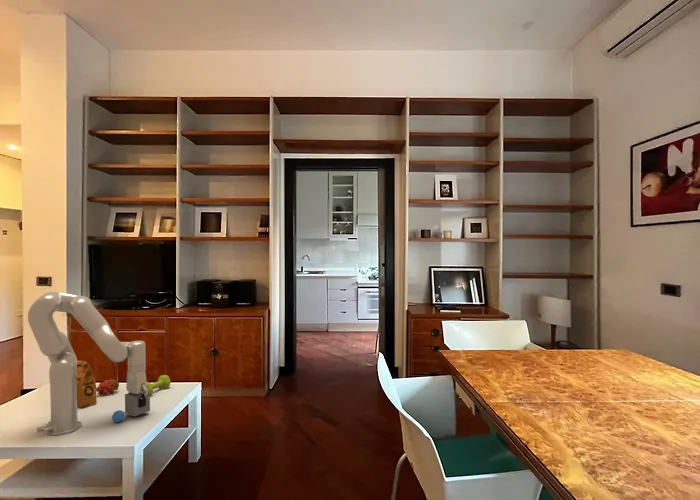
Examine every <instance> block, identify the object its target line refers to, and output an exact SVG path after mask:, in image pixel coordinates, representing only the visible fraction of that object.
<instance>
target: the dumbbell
mask: <svg viewBox="0 0 700 500" xmlns="http://www.w3.org/2000/svg"><path fill="white" fill-rule="evenodd" d="M171 381H172V380H171V379H170V377H169V375H166V374H163V375H160V376H159V377H158V378H157V381H155V382H153V383H151V382H149V381H146V382H147V390H148V392H150V396H152V393H153V392H154V390H155V389H158V388H160V389H162V388H163V390H166V389H168V388H169V387H170V385H171V383H172V382H171Z"/></svg>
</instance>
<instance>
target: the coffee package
mask: <svg viewBox="0 0 700 500" xmlns="http://www.w3.org/2000/svg"><path fill="white" fill-rule="evenodd" d="M76 380H77V408H81V409H85V408H87V407H91V406H93V405H96V404H97V383H96V382H97V381H96V378H95V374H94V371H93V369H92V367H91V366H90V363H89V362H87V361H84V360H78V359H77V368H76Z"/></svg>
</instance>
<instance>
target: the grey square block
mask: <svg viewBox="0 0 700 500" xmlns="http://www.w3.org/2000/svg"><path fill="white" fill-rule="evenodd" d="M140 392H142V391H140ZM142 394H143V393H141V395H142ZM148 412H151V395H150V392H148V393H147V396H146V406H144V407H141V408H139V395H138V394H134V393H129V392H128V393H125V394H124V414H127V415H129V416H132V417H136V416H139V415H143V414H145V413H148Z"/></svg>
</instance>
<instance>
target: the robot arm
mask: <svg viewBox="0 0 700 500" xmlns="http://www.w3.org/2000/svg"><path fill="white" fill-rule="evenodd" d="M55 312H60V313H66V314H70V315H72V317H74V319H75V320H76V321H77V322H78V323H79V324H80V326H82V328H83V329H84V330H85V331H86V333H87V335H89V336H90V338H91V339H92V340H93V341H94V342H95V344H96V345H97V346H98V347H99V348H100V350H101V351H102V352H103V354H104V355H105V356H106V357H107V358H108V359H109V360H110V361H112V362H113V363H122V362H124V361H125V360H126V359H127V373H126V391H127V392H128V393H134V394H138V395H139V408H141V407H144V406H146V396H147V393H148V390H147V382H148V381H147V374H146V370H147V369H146V367H147V364H146V363H147V362H146V359H147V358H146V354H147V353H146V342H145V341H143V340H133V341H120V340H119V339H118V337H117V336H116V335H115V333H114V332H113V331H112V328H111V326H110V324H109V323H108V321H107V320H106V319H105V318H104V316H103V315H102V314H101V313H100V312H99V310H98V309H96V307H95V306H94V305H93V303H92V301H91V299H90V298H89V297H87V296H86V295H85V296H84V295H79V294H70V293H65V292H58V291H57V292H56V291H49V292H46V293H44V294H42V295H41V296H39V297H38V298H37V299H36V300H35V301H34V302H33V303H32V304H31V306H30V307H29V310H28V312H27V322H28V325H29V327H30V329H31V331H32V333H33V337H34V339H35V341H36V343H37V345H38V348H39V351H40V352H41V354H43V355H44V356H46V357H47V358H48V360H49V362H50V366H49V370H48V377H49V378H48V379H49V396H50V420H49V421H48V422H47V423H46V424H45V425H41V426H39V427H37V428H36V429H37V433H41V432H43V433H45V432H46V434H47V435H49V436H61V435H66V434H71V433H73V432H75V431H77V430H79V429H80V428H81V427H82V422H81V421H80V420H78V406H77V380H76V368H77V360H78V358H77V355H76V353H75V351H74V349H73V346H72V345H71V343H70V340H69V337H67V335H66V334H65V333H64V332H61V331H60V330H59V328H58V326H57V323H56V321H55V319H54V313H55ZM140 391H142V392H140ZM141 393H143V394H142V395H141Z"/></svg>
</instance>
